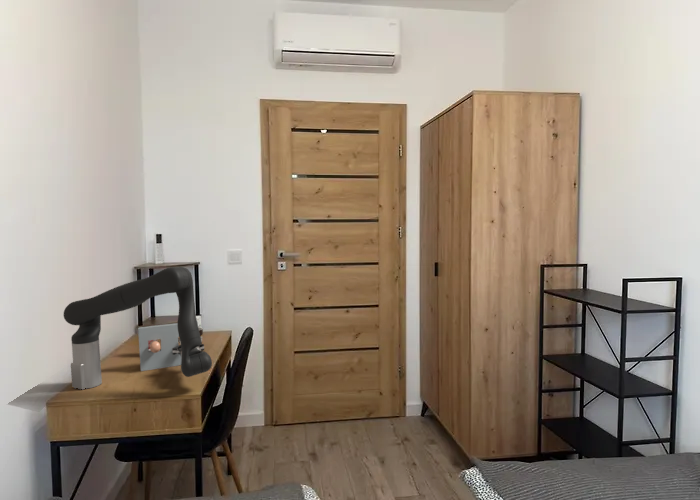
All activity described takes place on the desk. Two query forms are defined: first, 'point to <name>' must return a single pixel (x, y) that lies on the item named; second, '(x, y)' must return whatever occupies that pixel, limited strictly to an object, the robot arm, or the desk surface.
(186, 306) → the robot arm
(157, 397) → the desk surface
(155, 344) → the terracotta button
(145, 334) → the panel
